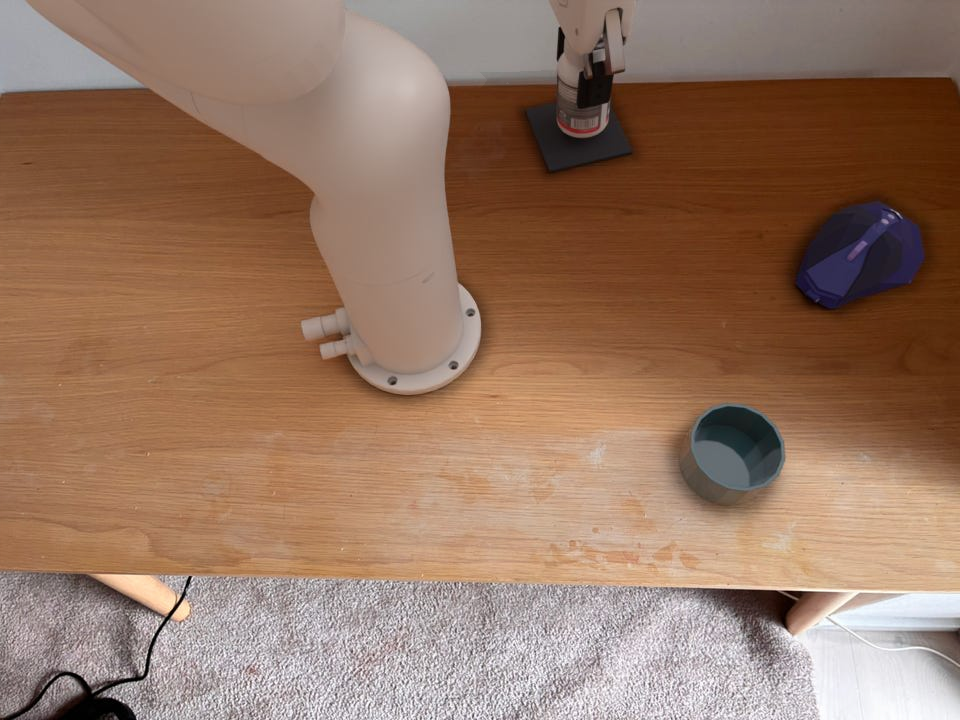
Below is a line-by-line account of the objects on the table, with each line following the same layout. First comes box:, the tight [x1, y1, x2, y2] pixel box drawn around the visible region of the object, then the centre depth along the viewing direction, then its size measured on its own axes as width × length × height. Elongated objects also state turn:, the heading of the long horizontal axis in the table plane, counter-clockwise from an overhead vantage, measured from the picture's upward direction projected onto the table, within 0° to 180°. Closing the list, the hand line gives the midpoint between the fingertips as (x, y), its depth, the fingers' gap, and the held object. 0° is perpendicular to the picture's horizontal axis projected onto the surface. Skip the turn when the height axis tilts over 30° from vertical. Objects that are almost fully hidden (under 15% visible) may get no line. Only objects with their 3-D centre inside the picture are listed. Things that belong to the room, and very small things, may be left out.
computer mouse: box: [795, 200, 926, 310], centre depth 63 cm, size 9×15×4 cm, turn 132°
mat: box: [524, 101, 634, 174], centre depth 73 cm, size 9×9×1 cm
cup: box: [678, 402, 786, 507], centre depth 54 cm, size 7×7×4 cm
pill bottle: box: [556, 34, 612, 138], centre depth 67 cm, size 5×5×10 cm
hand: (582, 80), depth 67 cm, fingers closed on pill bottle, 5 cm apart
